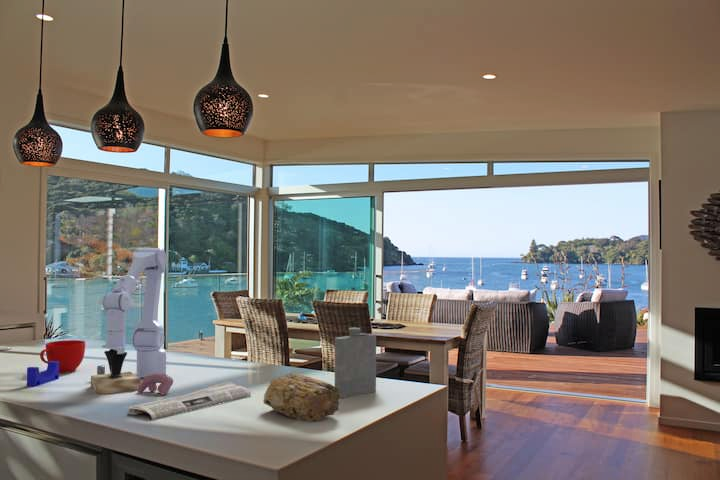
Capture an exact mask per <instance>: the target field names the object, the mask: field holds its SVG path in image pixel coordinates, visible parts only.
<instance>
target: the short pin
mask: <svg viewBox="0 0 720 480" xmlns="http://www.w3.org/2000/svg"><path fill="white" fill-rule="evenodd" d="M103 374H106V366H105V365H103V364H102V365H97V367H96V375H103Z"/></svg>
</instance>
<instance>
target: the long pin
mask: <svg viewBox="0 0 720 480" xmlns="http://www.w3.org/2000/svg"><path fill="white" fill-rule="evenodd" d="M110 374H111V378H119V375H113V374H112V368H111V373H110Z"/></svg>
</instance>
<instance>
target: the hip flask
mask: <svg viewBox="0 0 720 480" xmlns="http://www.w3.org/2000/svg"><path fill="white" fill-rule="evenodd" d="M348 333H349V335H345V336H344V335H343V336H340V337H339V336H338V337H335V338H334V387H336V388H337V389H338V391H339V395H340V396H339V398H338V400H339V399H346V398H349V397H353V396H358V395H363V394H368V393H375V392H377V333H361V327H349V328H348Z"/></svg>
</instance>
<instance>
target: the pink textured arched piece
mask: <svg viewBox="0 0 720 480" xmlns="http://www.w3.org/2000/svg"><path fill="white" fill-rule="evenodd" d="M166 374H167V373H166ZM166 374H163V373H154V374H148V375H147V376H146V377H143V379H142V381H140V385H139V387H138V390H137V393H138V394H141V393H143V392H145V390H147V389H148V391H150V392H152V393H154V392H156V391H157V392H159V393H160V394H161V396H165V395H166V394H168V392H169V391H170V389H171V388H172V386H173V383H174V379H173V377H172V376H169V375H168V374H167V375H166ZM157 384H159V385H157Z"/></svg>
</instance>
